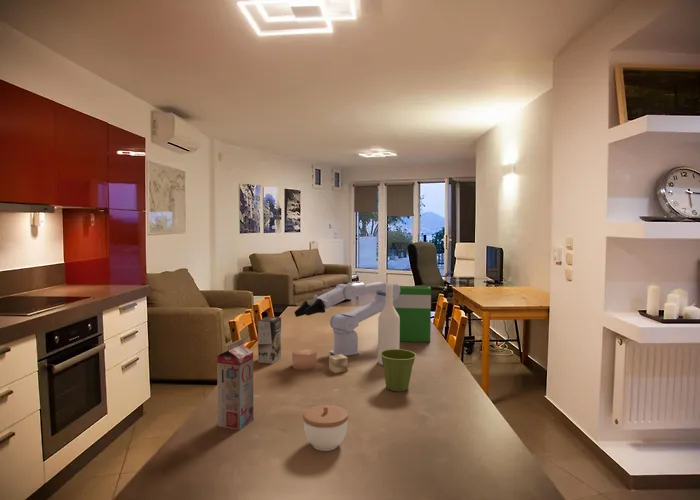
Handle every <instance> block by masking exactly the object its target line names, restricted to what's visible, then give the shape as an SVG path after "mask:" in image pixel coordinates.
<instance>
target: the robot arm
mask: <svg viewBox="0 0 700 500" xmlns="http://www.w3.org/2000/svg"><path fill="white" fill-rule="evenodd" d="M386 284H392V285H393V301H394V300H396V299H398V297H399V294H400V286H401V285H399V284H398V283H396V282H395V283H391V282H386V281H374V282H370V283H366V284H365V283H364V282H362V281H361V280H357V281H356V282H347V284H344V283H338V284H336V286H335V288H333V289H331V290H329V291H327V292H324V293H323V294H320V295H317V294H314V295H313V296H312V297H313V298H312V300H311V301H310V302H309V303H308V301H307V300H304V301H303V302H302V304H301V305H300V307H298V308H297V309H296V310H294V312H293V313H294V316H295V317H297V318H298V317H302V316H311V315H315V314H319V313H320V314H321V313H322V314H325V313H326V310H327V309H330V308H331V307H333V306H335V305H337V304H339V303H341V302H343V301H345V300H352V299H353V298H356V297H362V296H365V295H366V294H367V293H369V292H370V293H371V292H375V296H374V301H372V302H370V303H367V304H365V305H363V306H361V307H358V308H357V309H355V310H352V311H349V312H342V313H334V314H333V315H331V317H330V320H329V324H330V327H331V328H332V332H333V350H329V353H331V354H333V355H339V354H342V355H344V356H346V357H348V356H352V355H353V356H354V355H358V354H359V346H358V344H359V337H358V333H357V332H356V331H355V329H356V328H357V327H359V323H361V322H363V321H365V320H368V319H369V318H371V317H373V316H375V315H377V314H379V313H381V312H382V310H383V309H384V307H385V304H386Z"/></svg>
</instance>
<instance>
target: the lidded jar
mask: <svg viewBox="0 0 700 500" xmlns="http://www.w3.org/2000/svg"><path fill="white" fill-rule="evenodd" d="M302 419H303V428H304V429H303V431H304V435H305V438H306V439H307V441H308V442H309V443H310V444H311V446H312V447H313V448H314V450H317V451H321V452H329V451H333V450H336V449H337V448H338V447H339V445H340V444H341V443H342V442H343V441H344V439H345V437H346V435H347V430H348V419H349V412H348V411H347V410H346V409H345V408H343V407H341V406H337V405H331V404H321V405H315V406H312V407H309V408H307V409H306V410H304V412H303V416H302Z"/></svg>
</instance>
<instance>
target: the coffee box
mask: <svg viewBox="0 0 700 500" xmlns="http://www.w3.org/2000/svg"><path fill="white" fill-rule="evenodd" d="M257 326H258V327H257V363H260V364H270V365H272V364H274V363H276V362H277V361H278V360H280V359H281V358H282V317H281V316H266V317H264V318H262V319H260V320H258V321H257Z"/></svg>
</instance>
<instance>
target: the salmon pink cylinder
mask: <svg viewBox="0 0 700 500" xmlns="http://www.w3.org/2000/svg"><path fill="white" fill-rule="evenodd" d="M291 355H292V358H291V362H292V363H291V364H292V367H291V368H293V369H295V370H301V371H308V370H313V369H315V368H317V365H318V364H317V362H318V359H317V355H318V352H317V351H316V350H312V349H298V350H294V351H293V352H292V354H291Z"/></svg>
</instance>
